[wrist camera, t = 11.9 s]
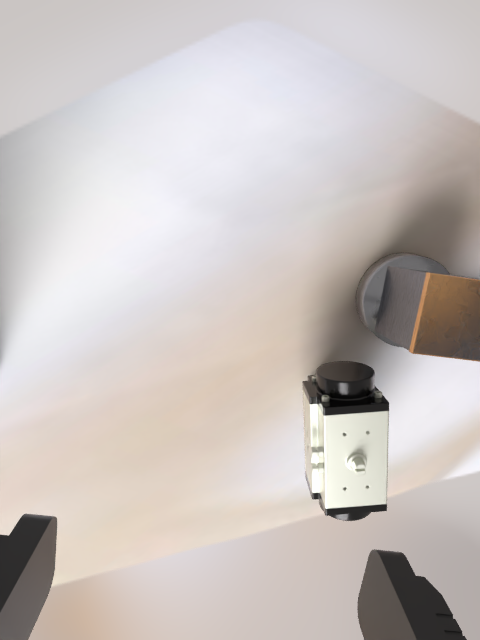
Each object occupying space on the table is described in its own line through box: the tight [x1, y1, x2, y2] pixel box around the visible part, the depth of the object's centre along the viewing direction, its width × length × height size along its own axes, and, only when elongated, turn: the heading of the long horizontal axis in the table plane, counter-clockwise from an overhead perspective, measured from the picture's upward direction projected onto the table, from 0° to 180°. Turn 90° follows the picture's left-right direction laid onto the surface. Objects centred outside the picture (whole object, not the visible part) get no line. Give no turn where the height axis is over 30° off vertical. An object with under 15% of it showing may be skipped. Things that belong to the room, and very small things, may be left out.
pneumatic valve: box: [303, 361, 389, 521], centre depth 37 cm, size 6×12×12 cm, turn 4°
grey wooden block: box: [375, 266, 480, 361], centre depth 35 cm, size 6×6×7 cm
